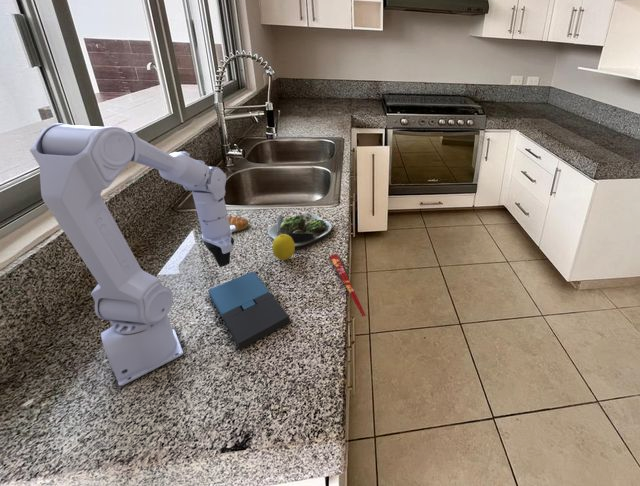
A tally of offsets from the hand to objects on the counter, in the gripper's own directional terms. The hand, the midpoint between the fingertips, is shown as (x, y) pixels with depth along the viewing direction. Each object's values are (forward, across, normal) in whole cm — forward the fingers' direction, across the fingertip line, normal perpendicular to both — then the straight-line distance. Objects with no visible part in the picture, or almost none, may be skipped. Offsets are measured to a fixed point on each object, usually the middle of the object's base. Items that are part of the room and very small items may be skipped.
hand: (224, 264), depth 84 cm
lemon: (+4, -3, -14) cm, 15 cm away
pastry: (+4, +24, -8) cm, 26 cm away
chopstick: (+4, -22, -21) cm, 31 cm away
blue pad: (+4, -9, 0) cm, 10 cm away
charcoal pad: (+4, -19, 0) cm, 19 cm away
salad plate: (+4, +6, -23) cm, 24 cm away
